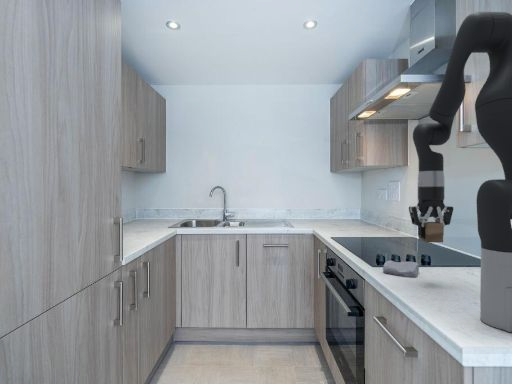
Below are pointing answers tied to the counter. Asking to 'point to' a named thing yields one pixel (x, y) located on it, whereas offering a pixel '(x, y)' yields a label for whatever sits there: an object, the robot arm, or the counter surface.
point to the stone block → (401, 268)
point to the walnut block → (433, 232)
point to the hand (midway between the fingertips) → (430, 238)
